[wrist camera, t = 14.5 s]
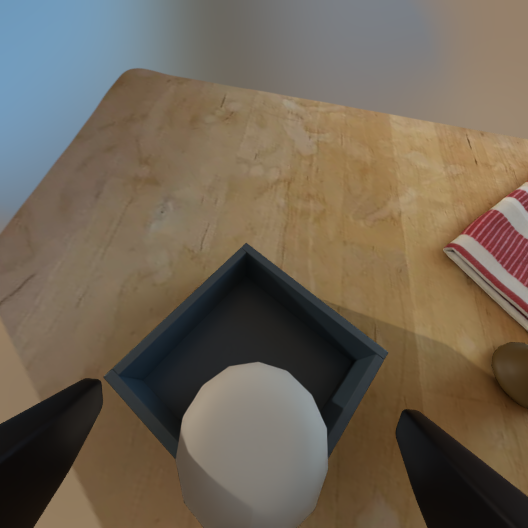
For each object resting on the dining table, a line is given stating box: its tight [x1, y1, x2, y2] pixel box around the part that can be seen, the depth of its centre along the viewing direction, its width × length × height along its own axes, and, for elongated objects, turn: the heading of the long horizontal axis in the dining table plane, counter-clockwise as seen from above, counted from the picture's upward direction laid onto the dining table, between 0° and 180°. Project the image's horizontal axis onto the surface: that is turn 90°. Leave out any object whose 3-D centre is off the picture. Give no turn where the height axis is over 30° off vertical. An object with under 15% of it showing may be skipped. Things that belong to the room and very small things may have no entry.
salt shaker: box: [176, 362, 328, 528], centre depth 12 cm, size 6×6×13 cm
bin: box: [104, 243, 388, 459], centre depth 18 cm, size 12×12×5 cm
